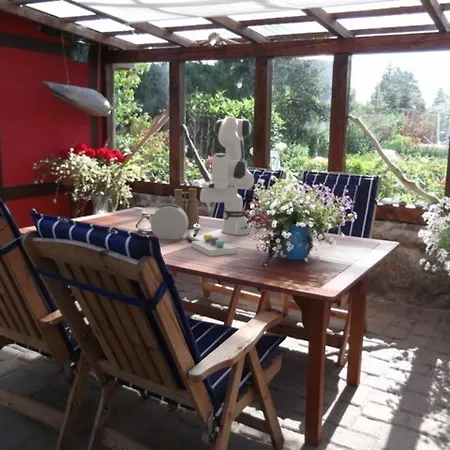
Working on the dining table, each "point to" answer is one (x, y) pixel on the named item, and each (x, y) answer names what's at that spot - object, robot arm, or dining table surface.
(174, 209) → the grey round slab
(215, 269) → the dining table surface
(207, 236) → the button mustard
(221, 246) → the button teal
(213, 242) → the button charcoal
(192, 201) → the binoculars
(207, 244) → the panel
